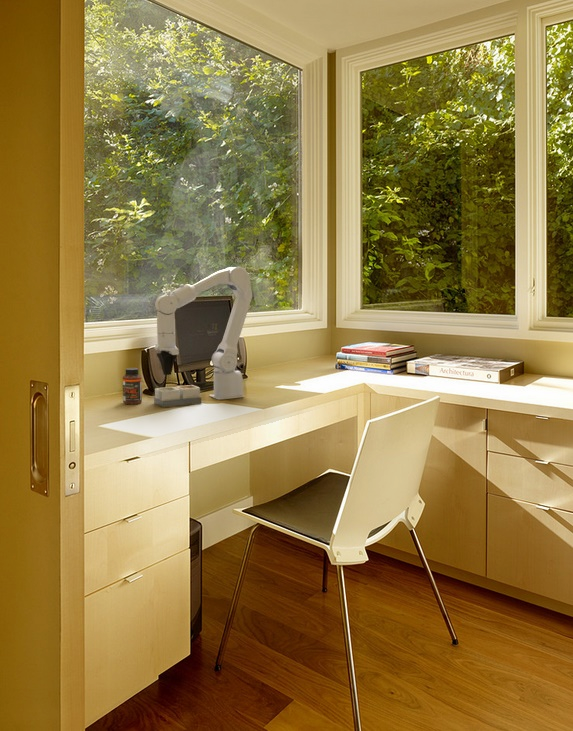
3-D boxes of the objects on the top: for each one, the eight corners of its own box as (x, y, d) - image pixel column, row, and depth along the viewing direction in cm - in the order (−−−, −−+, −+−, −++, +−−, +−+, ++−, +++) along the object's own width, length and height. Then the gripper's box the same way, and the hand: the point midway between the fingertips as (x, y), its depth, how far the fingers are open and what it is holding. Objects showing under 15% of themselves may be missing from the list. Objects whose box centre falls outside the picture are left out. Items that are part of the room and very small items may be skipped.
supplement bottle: (123, 405, 197) (122, 370, 196) (122, 401, 203) (121, 367, 201) (142, 404, 199) (141, 369, 197) (141, 401, 205) (140, 366, 203)
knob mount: (191, 399, 208) (191, 384, 207) (201, 403, 201) (201, 388, 201) (154, 403, 201) (153, 387, 200) (163, 407, 194) (162, 392, 194)
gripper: (146, 331, 205) (147, 372, 207) (163, 335, 192) (164, 378, 194) (166, 330, 208) (167, 370, 210) (184, 334, 196) (185, 376, 198)
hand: (167, 374), depth 203 cm, fingers closed
